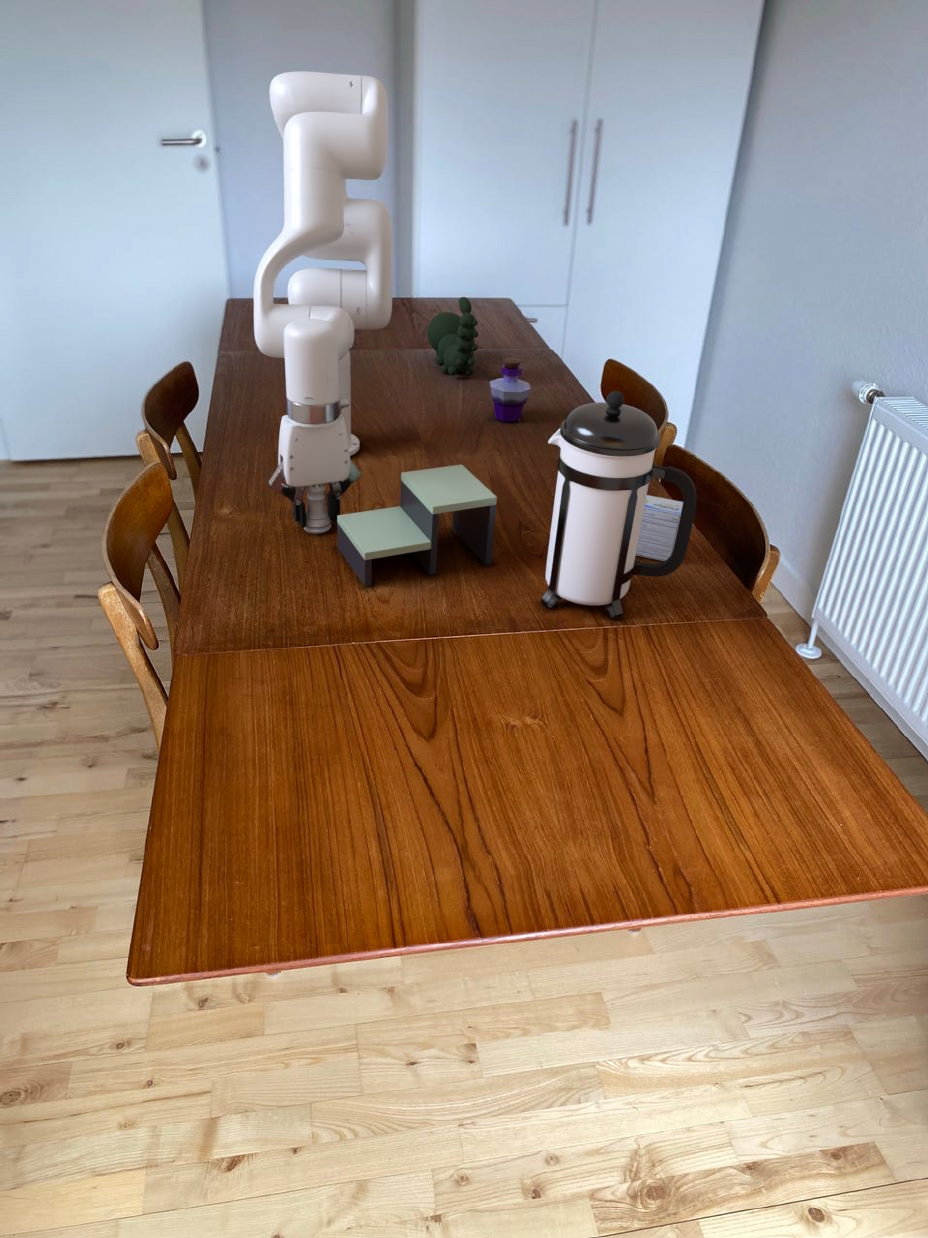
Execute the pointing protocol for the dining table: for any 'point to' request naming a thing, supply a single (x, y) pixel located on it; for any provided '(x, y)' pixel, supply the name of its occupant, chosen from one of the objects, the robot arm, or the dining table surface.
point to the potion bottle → (509, 392)
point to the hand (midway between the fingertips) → (316, 520)
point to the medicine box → (658, 528)
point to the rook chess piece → (317, 510)
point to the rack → (421, 520)
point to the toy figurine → (454, 339)
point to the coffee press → (607, 505)
